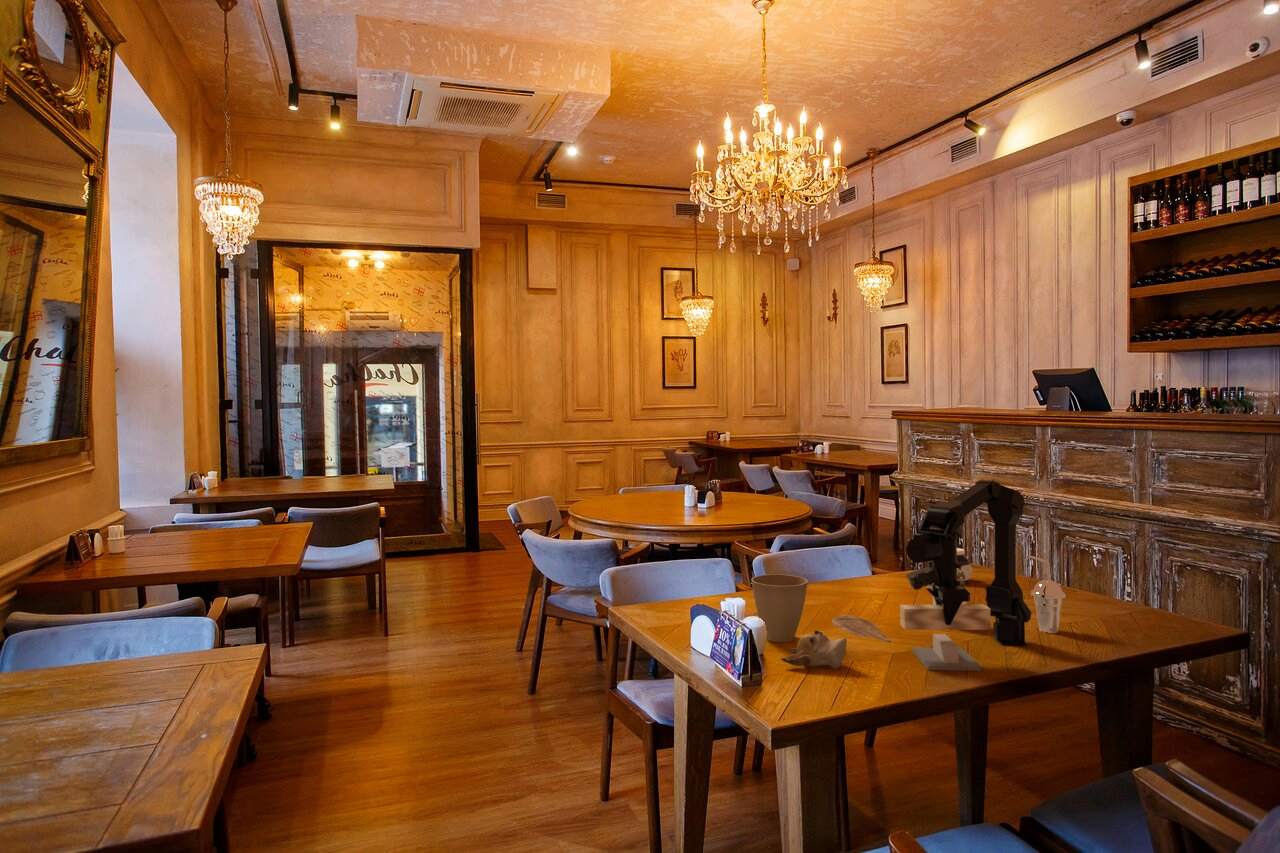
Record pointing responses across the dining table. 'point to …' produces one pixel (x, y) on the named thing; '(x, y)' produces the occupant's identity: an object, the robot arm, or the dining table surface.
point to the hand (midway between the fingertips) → (945, 622)
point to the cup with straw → (1047, 602)
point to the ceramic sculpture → (817, 651)
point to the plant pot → (780, 604)
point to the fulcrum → (945, 656)
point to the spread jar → (963, 566)
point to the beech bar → (934, 617)
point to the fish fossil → (859, 627)
